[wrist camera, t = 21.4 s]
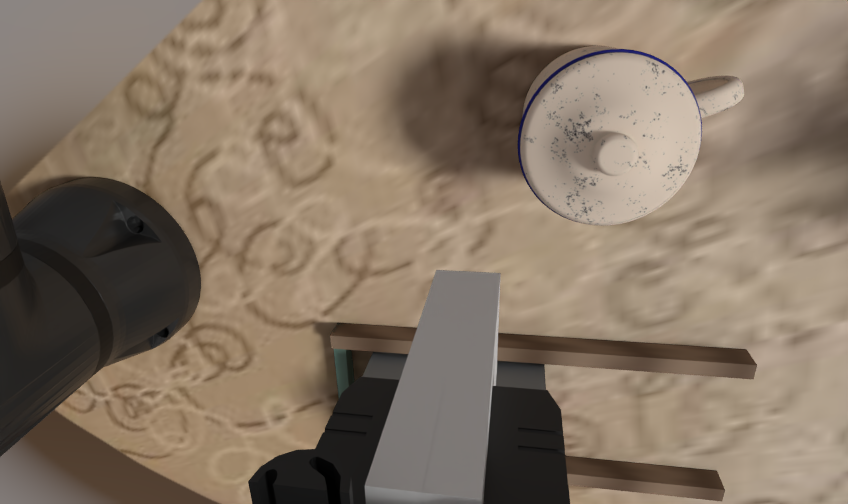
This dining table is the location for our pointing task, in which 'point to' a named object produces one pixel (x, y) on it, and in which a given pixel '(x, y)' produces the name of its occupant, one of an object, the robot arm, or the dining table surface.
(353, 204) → the dining table surface
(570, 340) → the bay
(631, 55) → the teacup with lid
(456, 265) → the dining table surface
